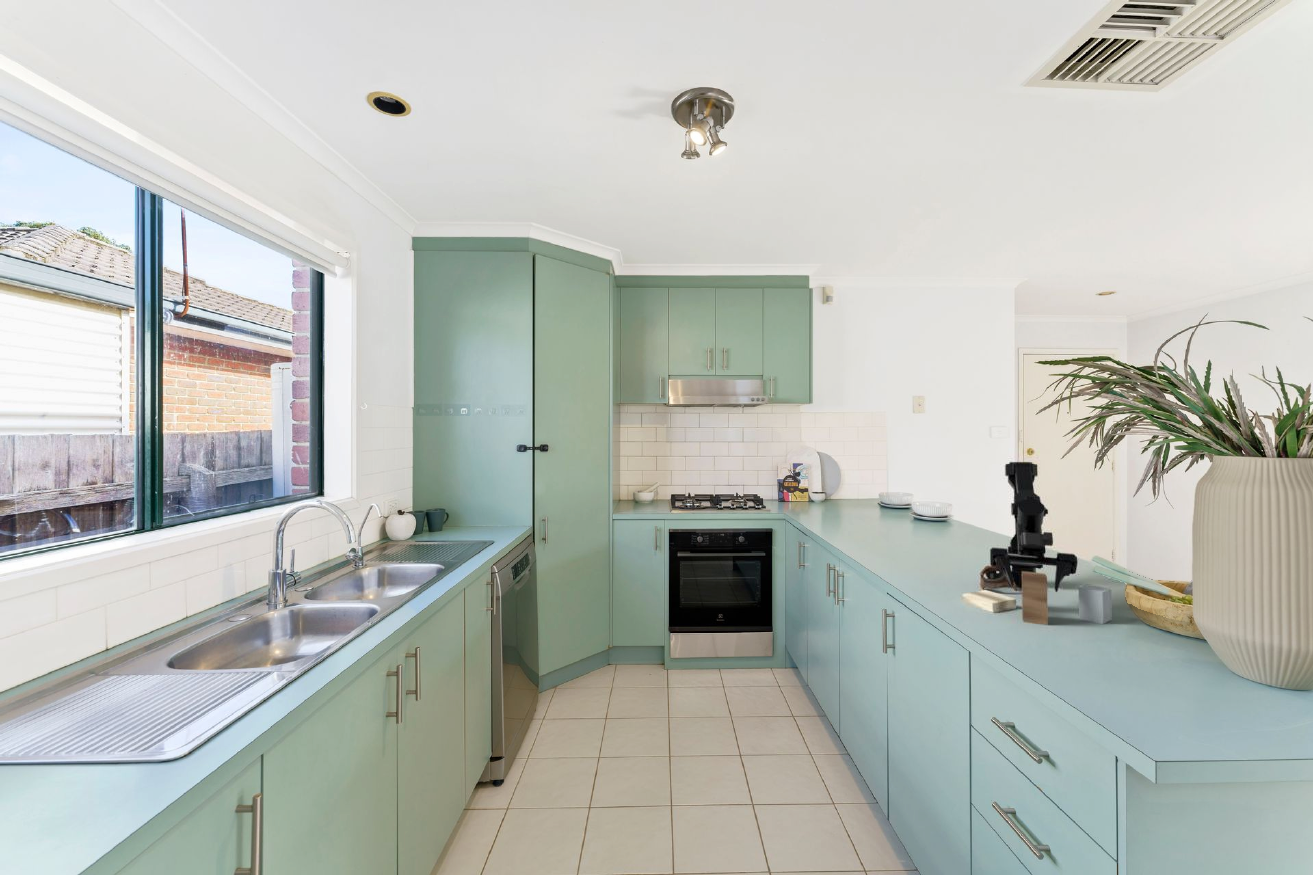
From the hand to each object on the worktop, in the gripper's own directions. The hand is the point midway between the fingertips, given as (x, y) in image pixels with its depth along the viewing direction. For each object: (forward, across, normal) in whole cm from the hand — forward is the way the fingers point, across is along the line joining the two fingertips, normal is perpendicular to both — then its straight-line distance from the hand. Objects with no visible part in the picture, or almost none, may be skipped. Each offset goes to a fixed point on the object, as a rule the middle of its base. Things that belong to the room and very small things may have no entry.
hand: (1034, 588), depth 136 cm
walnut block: (+6, 0, +6) cm, 8 cm away
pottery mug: (-13, -8, +25) cm, 30 cm away
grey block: (0, +13, +12) cm, 18 cm away
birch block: (0, -10, +12) cm, 15 cm away
